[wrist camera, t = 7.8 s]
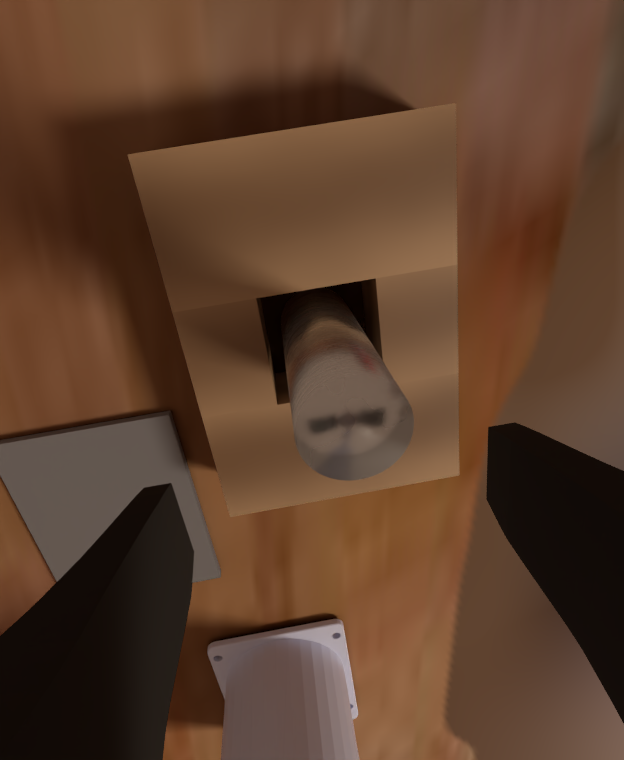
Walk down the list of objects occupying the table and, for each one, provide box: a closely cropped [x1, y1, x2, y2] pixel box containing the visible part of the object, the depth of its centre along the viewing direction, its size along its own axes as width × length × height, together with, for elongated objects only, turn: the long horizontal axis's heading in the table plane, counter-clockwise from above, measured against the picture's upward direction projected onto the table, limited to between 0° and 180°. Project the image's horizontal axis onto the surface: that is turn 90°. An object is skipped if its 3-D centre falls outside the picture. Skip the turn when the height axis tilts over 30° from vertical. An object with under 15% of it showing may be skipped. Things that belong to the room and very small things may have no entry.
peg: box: [280, 288, 414, 481], centre depth 15 cm, size 3×3×9 cm
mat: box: [0, 411, 221, 583], centre depth 22 cm, size 10×8×1 cm
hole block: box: [127, 103, 459, 517], centre depth 18 cm, size 14×10×3 cm
